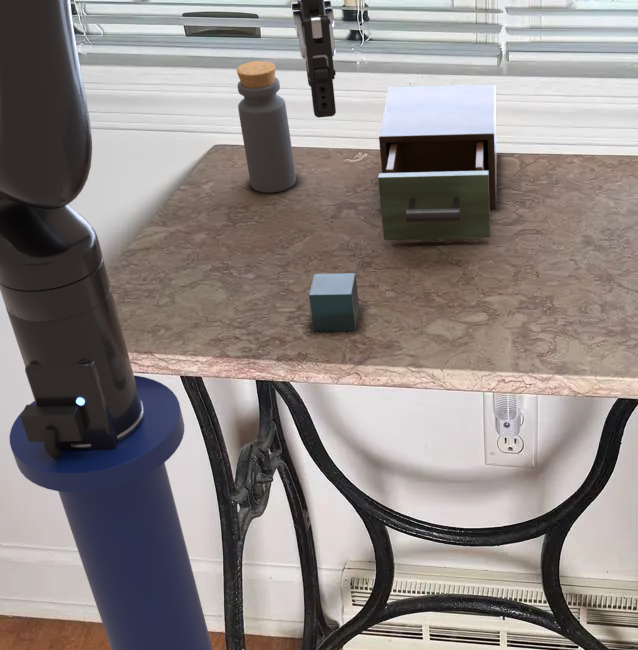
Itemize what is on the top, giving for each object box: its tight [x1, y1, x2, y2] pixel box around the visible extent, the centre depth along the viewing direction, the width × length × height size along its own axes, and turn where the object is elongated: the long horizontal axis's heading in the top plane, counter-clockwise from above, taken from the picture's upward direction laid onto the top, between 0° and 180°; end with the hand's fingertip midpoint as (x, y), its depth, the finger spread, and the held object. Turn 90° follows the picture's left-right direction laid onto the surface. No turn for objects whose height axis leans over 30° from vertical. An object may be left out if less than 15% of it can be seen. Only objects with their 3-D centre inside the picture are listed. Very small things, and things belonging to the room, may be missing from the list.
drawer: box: [377, 140, 491, 241], centre depth 139 cm, size 19×12×8 cm, turn 179°
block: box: [308, 272, 360, 333], centre depth 125 cm, size 4×4×4 cm
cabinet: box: [378, 83, 498, 210], centre depth 148 cm, size 16×14×10 cm
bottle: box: [236, 60, 297, 194], centre depth 148 cm, size 6×6×15 cm
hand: (322, 100), depth 123 cm, fingers open, 8 cm apart
